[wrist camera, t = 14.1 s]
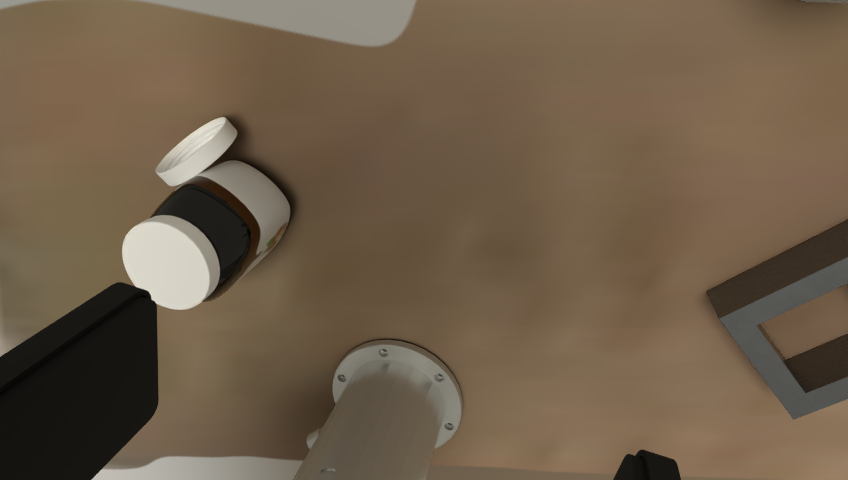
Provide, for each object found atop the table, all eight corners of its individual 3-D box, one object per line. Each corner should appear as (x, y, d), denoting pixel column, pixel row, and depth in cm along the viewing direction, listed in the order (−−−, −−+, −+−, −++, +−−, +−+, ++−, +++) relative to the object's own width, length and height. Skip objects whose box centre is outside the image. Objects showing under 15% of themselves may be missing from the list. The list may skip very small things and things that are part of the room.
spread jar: (258, 273, 52) (180, 343, 41) (159, 195, 51) (54, 247, 40) (325, 180, 46) (255, 235, 36) (216, 91, 45) (111, 121, 35)
